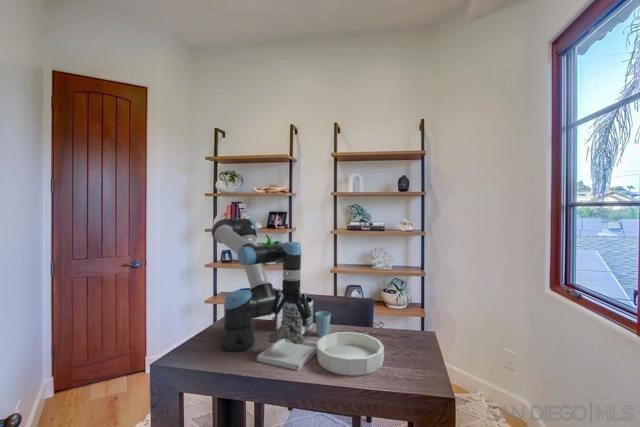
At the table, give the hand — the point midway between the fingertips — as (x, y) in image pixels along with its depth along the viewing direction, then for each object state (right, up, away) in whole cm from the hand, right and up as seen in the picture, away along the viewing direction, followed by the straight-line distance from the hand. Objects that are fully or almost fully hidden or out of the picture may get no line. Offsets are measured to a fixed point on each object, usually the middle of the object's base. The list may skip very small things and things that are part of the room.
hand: (290, 331), depth 131 cm
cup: (+14, -10, +21) cm, 27 cm away
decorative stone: (-1, -4, 0) cm, 4 cm away
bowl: (+25, -10, -5) cm, 27 cm away
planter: (+1, -10, +31) cm, 32 cm away
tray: (0, -9, 0) cm, 9 cm away
